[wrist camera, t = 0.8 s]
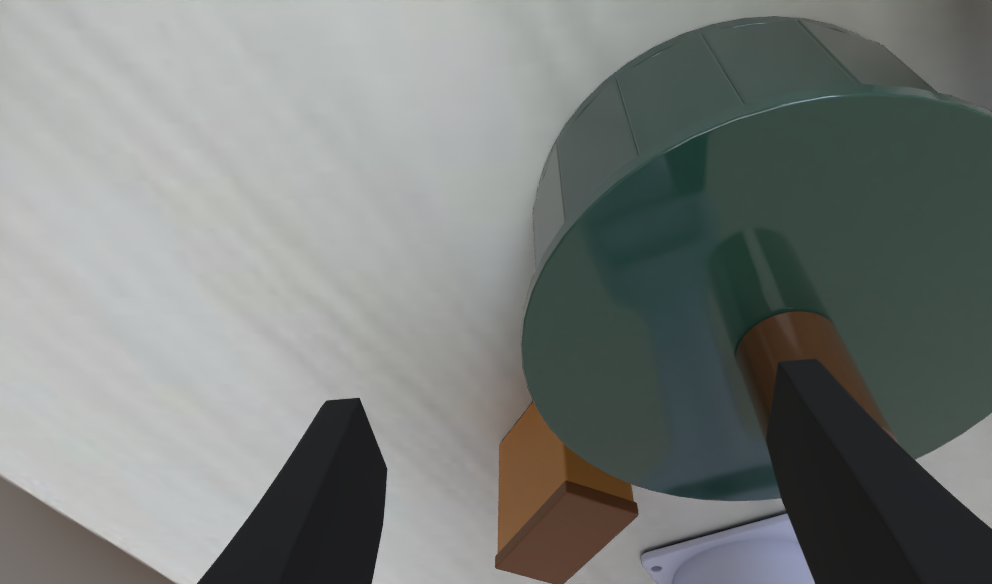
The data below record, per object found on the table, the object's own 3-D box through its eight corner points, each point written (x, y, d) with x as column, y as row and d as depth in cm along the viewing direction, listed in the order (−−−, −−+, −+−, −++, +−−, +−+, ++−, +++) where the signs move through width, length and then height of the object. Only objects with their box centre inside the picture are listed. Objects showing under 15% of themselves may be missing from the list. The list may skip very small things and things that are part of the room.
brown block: (554, 463, 30) (561, 587, 25) (496, 444, 29) (494, 568, 25) (619, 389, 27) (639, 515, 22) (557, 366, 26) (566, 492, 22)
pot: (962, 268, 23) (1066, 395, 18) (626, 390, 27) (648, 517, 22) (889, -79, 16) (1022, -10, 12) (462, 147, 20) (449, 261, 16)
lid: (1074, 383, 19) (1200, 531, 16) (637, 513, 23) (660, 653, 20) (1032, -61, 12) (1242, 26, 9) (422, 239, 16) (398, 379, 13)
